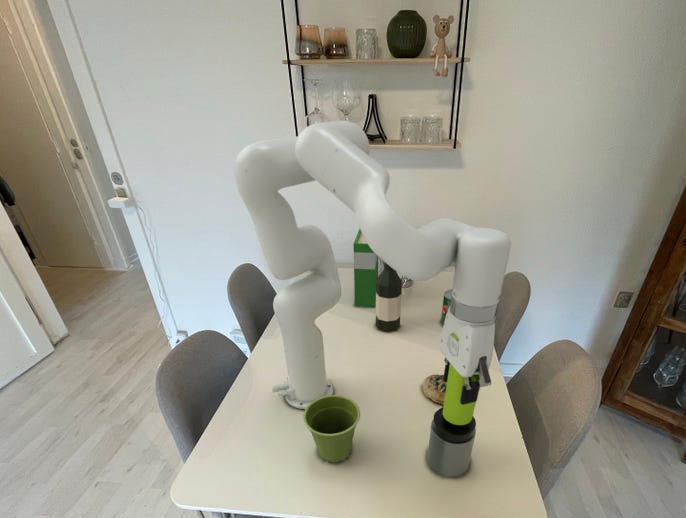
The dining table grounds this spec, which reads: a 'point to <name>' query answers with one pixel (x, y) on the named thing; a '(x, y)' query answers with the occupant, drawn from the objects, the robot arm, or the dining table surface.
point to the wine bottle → (388, 300)
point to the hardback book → (364, 272)
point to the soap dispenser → (456, 398)
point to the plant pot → (332, 425)
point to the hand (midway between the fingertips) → (459, 390)
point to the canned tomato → (446, 305)
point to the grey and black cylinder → (450, 445)
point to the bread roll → (435, 388)
